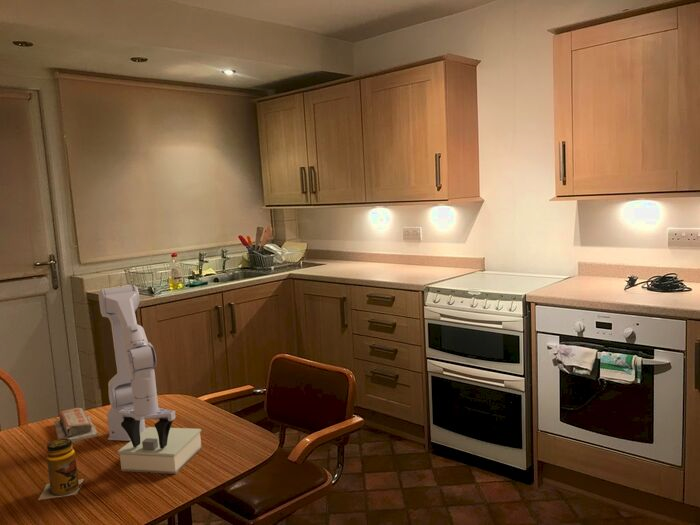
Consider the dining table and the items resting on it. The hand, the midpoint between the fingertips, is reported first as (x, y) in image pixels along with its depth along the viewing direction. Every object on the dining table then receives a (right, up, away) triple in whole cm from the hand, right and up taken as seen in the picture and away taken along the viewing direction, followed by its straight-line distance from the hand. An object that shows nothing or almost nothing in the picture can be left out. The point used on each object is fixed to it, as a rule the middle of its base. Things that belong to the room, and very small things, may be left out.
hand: (150, 446), depth 145 cm
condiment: (-19, -8, -7) cm, 22 cm away
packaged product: (-32, -5, +28) cm, 43 cm away
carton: (+1, -5, +6) cm, 8 cm away
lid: (+1, 0, +5) cm, 5 cm away
